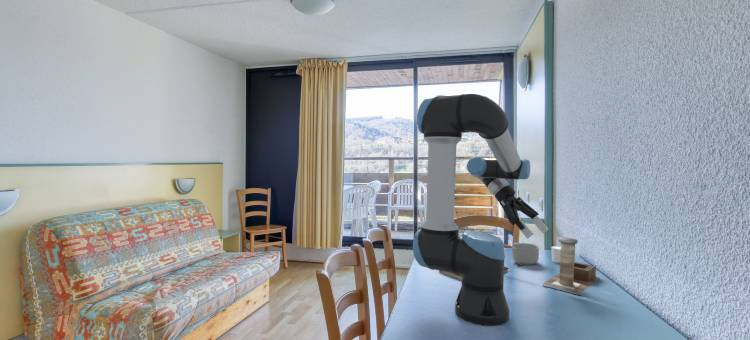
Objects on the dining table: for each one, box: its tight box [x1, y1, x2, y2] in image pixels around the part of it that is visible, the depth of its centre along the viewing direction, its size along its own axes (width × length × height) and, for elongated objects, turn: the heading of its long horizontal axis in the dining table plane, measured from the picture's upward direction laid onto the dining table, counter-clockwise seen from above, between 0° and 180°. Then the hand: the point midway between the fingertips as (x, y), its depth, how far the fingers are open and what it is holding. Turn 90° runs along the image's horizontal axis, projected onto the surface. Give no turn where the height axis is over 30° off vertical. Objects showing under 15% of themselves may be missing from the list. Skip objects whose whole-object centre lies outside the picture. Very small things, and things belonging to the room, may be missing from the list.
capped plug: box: [558, 236, 579, 286], centre depth 125 cm, size 6×6×16 cm
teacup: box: [511, 242, 540, 267], centre depth 154 cm, size 14×11×8 cm
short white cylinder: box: [550, 245, 561, 264], centre depth 154 cm, size 7×7×7 cm
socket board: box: [542, 261, 601, 297], centre depth 130 cm, size 23×12×5 cm, turn 133°
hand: (538, 233), depth 133 cm, fingers open, 13 cm apart
